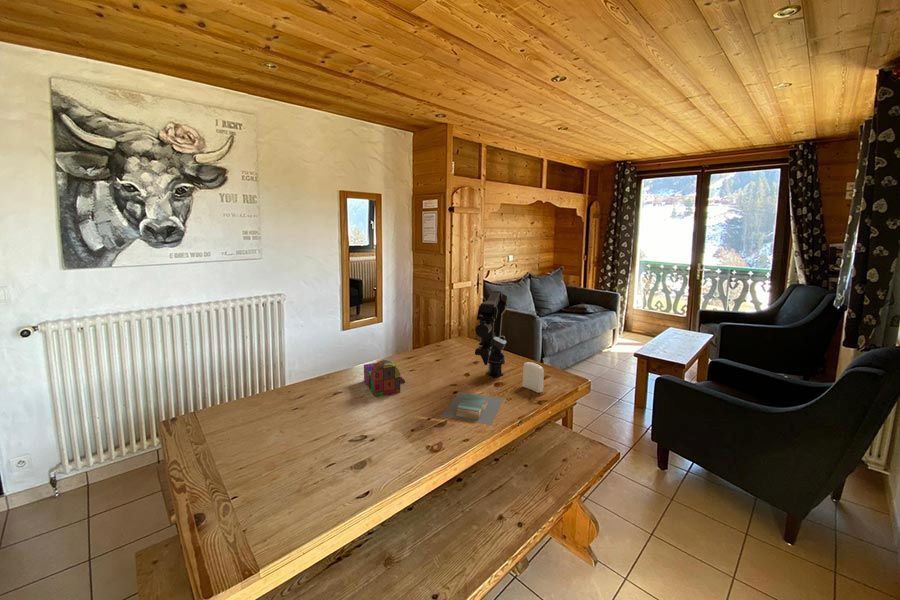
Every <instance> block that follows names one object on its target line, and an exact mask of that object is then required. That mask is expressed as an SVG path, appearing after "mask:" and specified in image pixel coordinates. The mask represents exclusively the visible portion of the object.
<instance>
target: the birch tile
mask: <svg viewBox="0 0 900 600" xmlns="http://www.w3.org/2000/svg"><path fill="white" fill-rule="evenodd" d="M472 394H473V393H470V394H466V396H465V397H464V398H463V400H462V401H461V403H460V404H459V406H458V407H457V413H456V416H461V417H467V418H473V419H479V418H480V417H481V415H482V413H483V411H484V409H485V407H486V405H487V397H485V396H486V395H483V396H478V395H479V394H476V395H472Z"/></svg>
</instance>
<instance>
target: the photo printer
mask: <svg viewBox="0 0 900 600" xmlns="http://www.w3.org/2000/svg"><path fill="white" fill-rule="evenodd" d="M522 366H523V367H522V387H523V388H526V389H527V390H531V391H532V392H535V393H537V394H538V393H539V394H540V393H543V391H544V378H545V369H544V368H543V366H541V365H539V364H537V363H535V362H532V361H531V362H529V361H528V362H524V364H523V365H522Z"/></svg>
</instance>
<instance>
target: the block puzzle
mask: <svg viewBox="0 0 900 600" xmlns="http://www.w3.org/2000/svg"><path fill="white" fill-rule="evenodd" d="M363 382H364V383H365V384H366V386H367V388H368V389H370V392H371V394H372V395H373V397H374V398H378V397H384V396H389V395H394V394H399V393H400V394H401V385H402V384H405V383H406V380H405V379H404V378H403V377H402V375H401V372H400V370H399V368H398V367H397V366H396V365H395V364H394V363H393V362H392V361H391V360H388V359H382V360H379V361H377V362H374V363H373V362H372V363H366V364H363Z"/></svg>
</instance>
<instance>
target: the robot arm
mask: <svg viewBox="0 0 900 600" xmlns="http://www.w3.org/2000/svg"><path fill="white" fill-rule="evenodd" d="M508 307H509V299H508V296H507V295H505V294H504V293H503V291H501V290H492V291H491V292H490V295H489V297H488V299H487V300H486V301H483V302H481V303H480V304H479V306H478V310H477V315H476V321H479V323H478V324H477V325H476V327H475V330H474V331H475V334H476V336H478V337H479V338H480V342H479V343H478V344H479V346H477V348H475V350H474V355H476V356H480V357H481V360H482V362H483V363H484V366H488V371H486V372H485V374H486V375H488V376H490V377H492V378H496V377H500V376H504V373H503V372H502V369H503V367H502V366H503V365H505V364H506V359H505V355H504V351H503V350H504V348H505V347H506V344H507V340H506V337H505V335H502V327H503V326H502V324H503V314H505V312H507V311H506V310H507V308H508Z"/></svg>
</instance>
